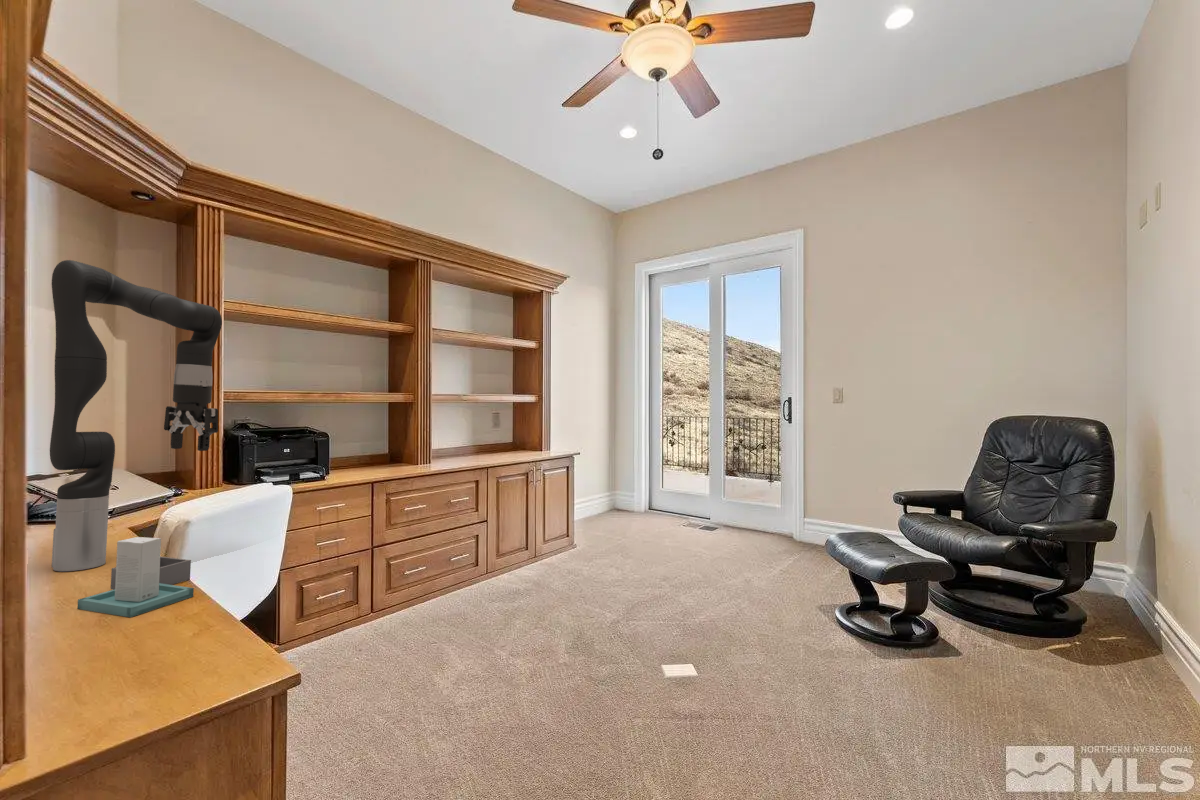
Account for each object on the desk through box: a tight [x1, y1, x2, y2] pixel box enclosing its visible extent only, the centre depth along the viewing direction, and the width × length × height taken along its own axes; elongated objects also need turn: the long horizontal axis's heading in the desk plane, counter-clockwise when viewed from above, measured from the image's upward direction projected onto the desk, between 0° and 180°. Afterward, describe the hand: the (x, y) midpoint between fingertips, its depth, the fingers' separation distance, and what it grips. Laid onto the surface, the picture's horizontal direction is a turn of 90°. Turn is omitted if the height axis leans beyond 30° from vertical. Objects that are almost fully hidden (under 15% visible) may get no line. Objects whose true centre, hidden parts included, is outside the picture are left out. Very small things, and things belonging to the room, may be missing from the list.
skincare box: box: [115, 536, 162, 602], centre depth 108 cm, size 6×4×12 cm
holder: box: [110, 555, 192, 590], centre depth 118 cm, size 9×10×4 cm
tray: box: [77, 583, 195, 618], centre depth 107 cm, size 14×12×2 cm
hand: (189, 449), depth 128 cm, fingers open, 8 cm apart
